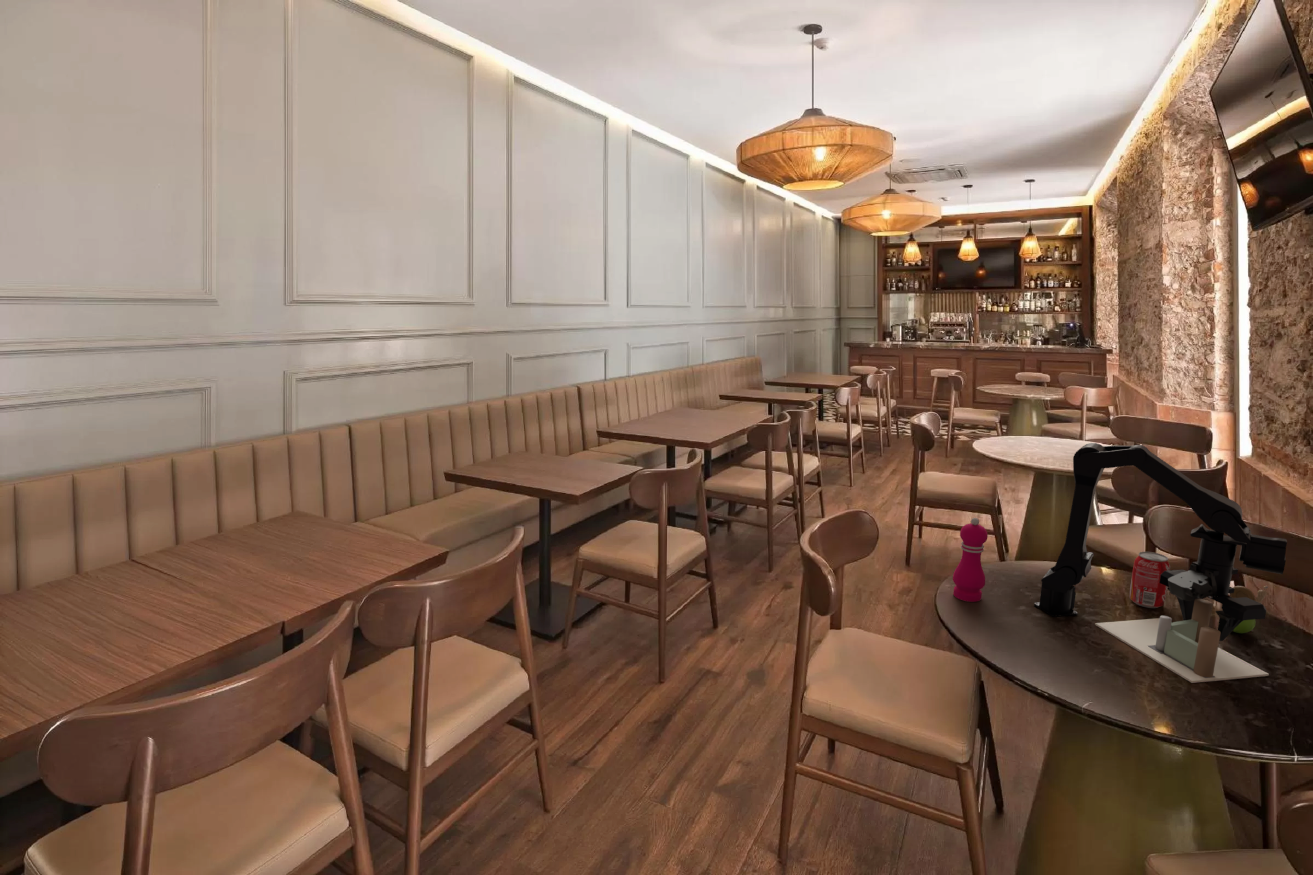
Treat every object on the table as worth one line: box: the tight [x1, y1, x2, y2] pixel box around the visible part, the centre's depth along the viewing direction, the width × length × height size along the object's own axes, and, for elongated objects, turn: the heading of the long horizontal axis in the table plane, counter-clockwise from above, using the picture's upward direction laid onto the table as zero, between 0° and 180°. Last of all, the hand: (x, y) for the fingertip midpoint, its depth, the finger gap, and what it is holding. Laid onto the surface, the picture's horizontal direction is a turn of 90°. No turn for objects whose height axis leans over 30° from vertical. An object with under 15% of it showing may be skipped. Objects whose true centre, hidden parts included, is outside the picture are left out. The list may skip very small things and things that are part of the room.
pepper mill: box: [952, 517, 989, 603], centre depth 168 cm, size 7×7×20 cm
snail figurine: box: [1229, 585, 1269, 634], centre depth 151 cm, size 5×6×12 cm
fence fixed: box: [1155, 615, 1221, 677], centre depth 138 cm, size 12×3×9 cm, turn 9°
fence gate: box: [1170, 598, 1214, 643], centre depth 145 cm, size 10×3×9 cm, turn 105°
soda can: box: [1129, 551, 1171, 609], centre depth 165 cm, size 7×7×12 cm
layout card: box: [1094, 617, 1269, 684], centre depth 145 cm, size 17×24×1 cm
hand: (1203, 631), depth 145 cm, fingers open, 7 cm apart
